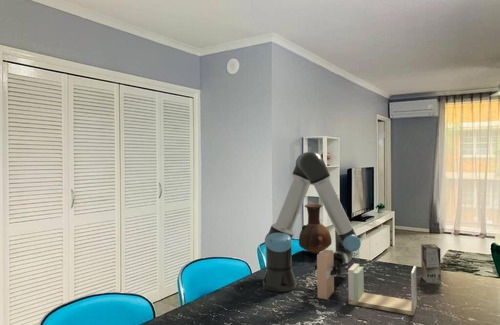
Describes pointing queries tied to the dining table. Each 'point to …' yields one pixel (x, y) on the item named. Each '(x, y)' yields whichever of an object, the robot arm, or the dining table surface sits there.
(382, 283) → the dining table surface
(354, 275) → the books
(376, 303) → the board
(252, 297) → the dining table surface
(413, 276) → the grey flat panel
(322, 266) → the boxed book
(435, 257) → the coffee box
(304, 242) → the vase
